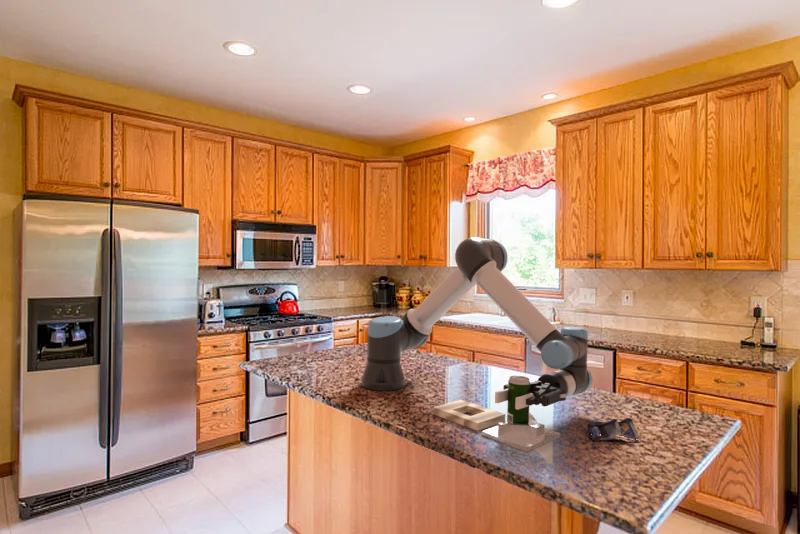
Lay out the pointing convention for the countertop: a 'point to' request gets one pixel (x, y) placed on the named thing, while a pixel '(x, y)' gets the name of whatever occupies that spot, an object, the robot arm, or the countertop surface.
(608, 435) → the snack package
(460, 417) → the beige rectangular frame
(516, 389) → the green soda can
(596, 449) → the countertop surface
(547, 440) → the v block
